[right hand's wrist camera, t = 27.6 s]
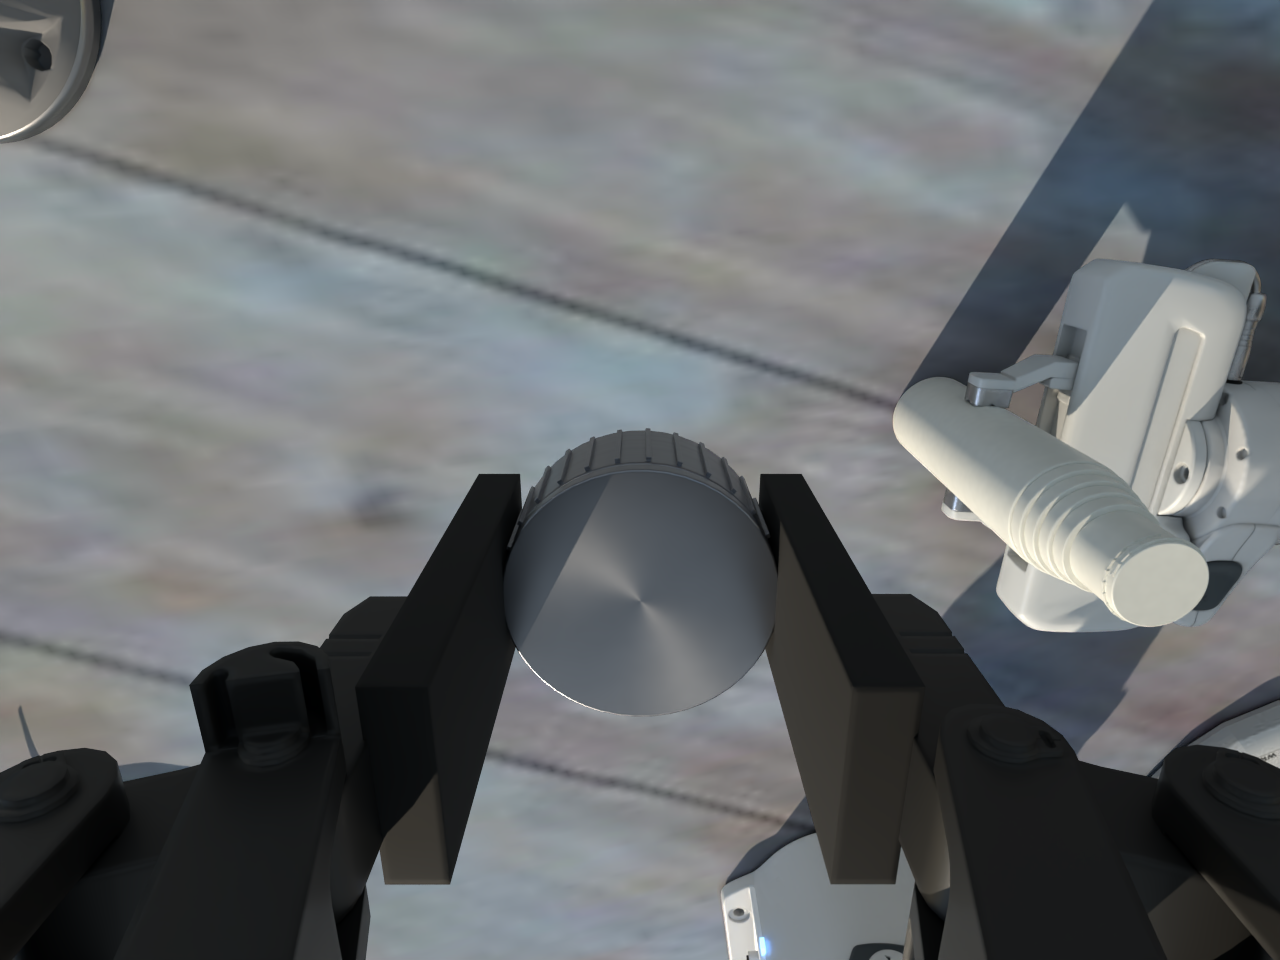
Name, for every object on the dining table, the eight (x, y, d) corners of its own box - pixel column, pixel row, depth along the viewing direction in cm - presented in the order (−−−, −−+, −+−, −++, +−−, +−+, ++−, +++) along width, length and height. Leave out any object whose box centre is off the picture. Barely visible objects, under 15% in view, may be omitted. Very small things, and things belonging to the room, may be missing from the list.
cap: (741, 401, 13) (759, 438, 11) (781, 626, 15) (803, 693, 13) (487, 455, 14) (461, 500, 12) (553, 669, 15) (540, 741, 13)
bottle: (989, 392, 46) (1266, 545, 26) (951, 466, 48) (1182, 665, 28) (915, 364, 46) (1136, 499, 25) (878, 440, 48) (1059, 624, 27)
